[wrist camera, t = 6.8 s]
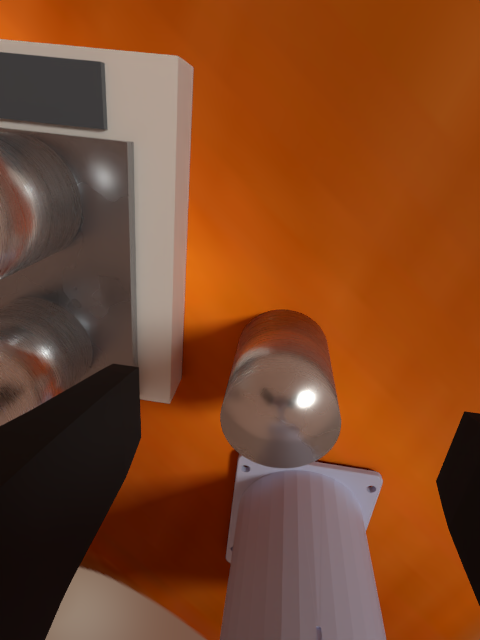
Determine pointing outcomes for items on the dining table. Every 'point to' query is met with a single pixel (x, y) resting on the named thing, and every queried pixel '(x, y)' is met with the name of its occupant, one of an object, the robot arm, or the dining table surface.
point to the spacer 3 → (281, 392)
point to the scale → (149, 166)
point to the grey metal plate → (92, 250)
